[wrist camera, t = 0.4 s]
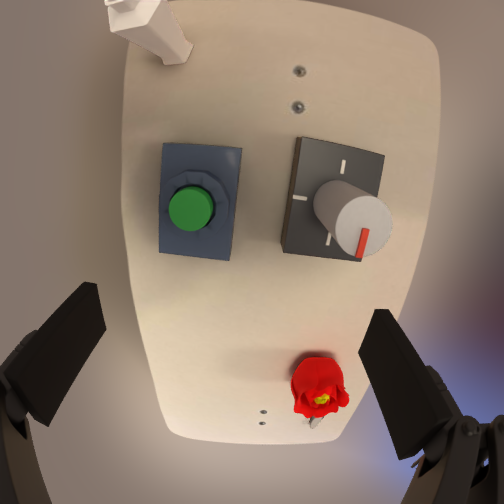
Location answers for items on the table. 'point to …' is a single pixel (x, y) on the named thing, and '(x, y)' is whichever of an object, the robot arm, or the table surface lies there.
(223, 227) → the button block
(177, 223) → the button
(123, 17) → the perfume bottle
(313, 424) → the oval pebble
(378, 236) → the dial
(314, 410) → the flower
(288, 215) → the dial panel
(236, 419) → the table surface
